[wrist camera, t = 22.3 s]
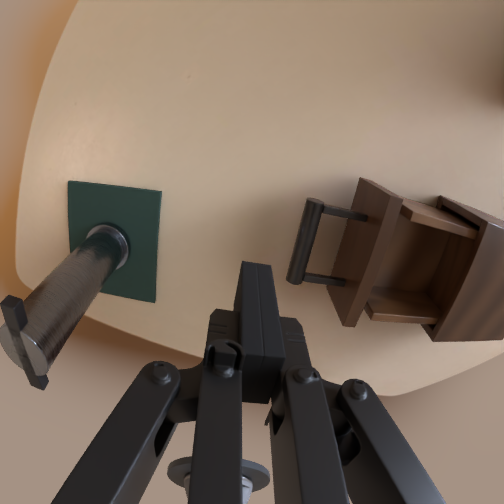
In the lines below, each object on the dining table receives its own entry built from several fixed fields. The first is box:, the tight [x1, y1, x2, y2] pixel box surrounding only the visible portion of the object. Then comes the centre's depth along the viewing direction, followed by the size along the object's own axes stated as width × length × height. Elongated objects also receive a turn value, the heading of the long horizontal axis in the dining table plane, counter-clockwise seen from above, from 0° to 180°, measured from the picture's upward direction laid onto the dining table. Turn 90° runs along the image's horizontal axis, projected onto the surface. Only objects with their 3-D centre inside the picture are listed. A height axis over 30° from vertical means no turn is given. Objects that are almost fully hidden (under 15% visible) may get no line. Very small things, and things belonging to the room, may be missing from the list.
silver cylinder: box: [0, 222, 131, 390], centre depth 20 cm, size 7×5×16 cm
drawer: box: [286, 177, 479, 327], centre depth 25 cm, size 18×11×6 cm, turn 79°
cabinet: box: [421, 195, 504, 342], centre depth 26 cm, size 14×13×8 cm
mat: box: [68, 181, 162, 303], centre depth 28 cm, size 12×10×1 cm
